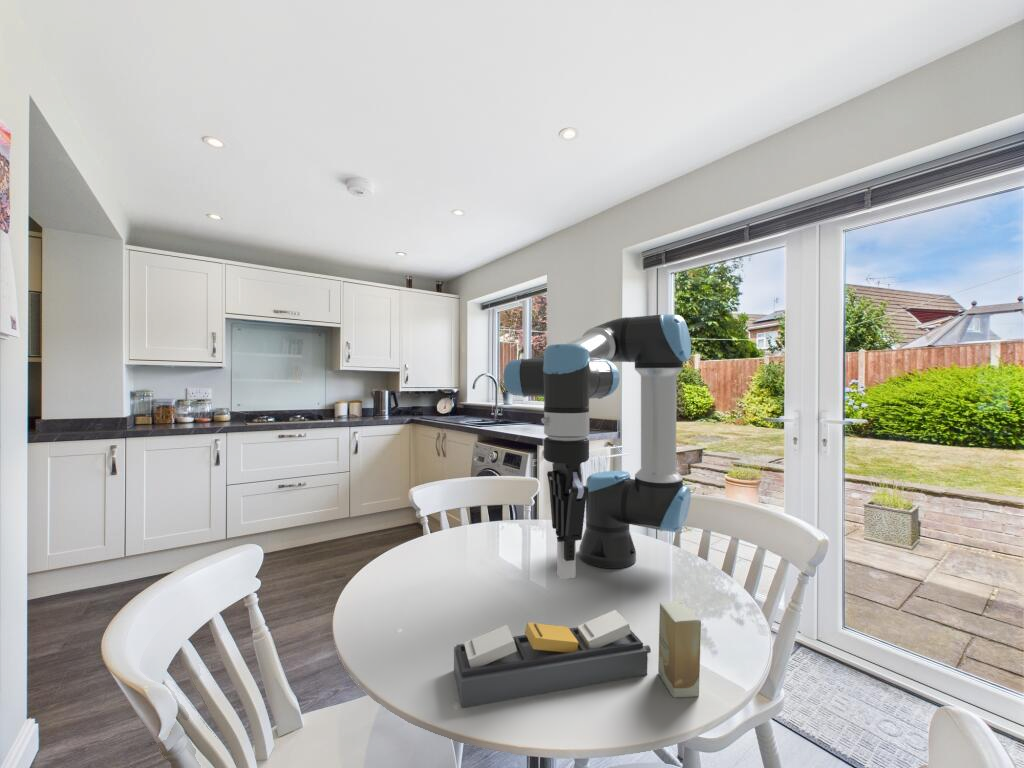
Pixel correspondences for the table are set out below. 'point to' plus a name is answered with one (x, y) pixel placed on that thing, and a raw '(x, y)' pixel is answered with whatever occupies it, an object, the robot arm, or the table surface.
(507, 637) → the rocker
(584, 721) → the table surface
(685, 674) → the skincare box
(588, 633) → the block
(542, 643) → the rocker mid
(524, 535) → the table surface
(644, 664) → the power strip
